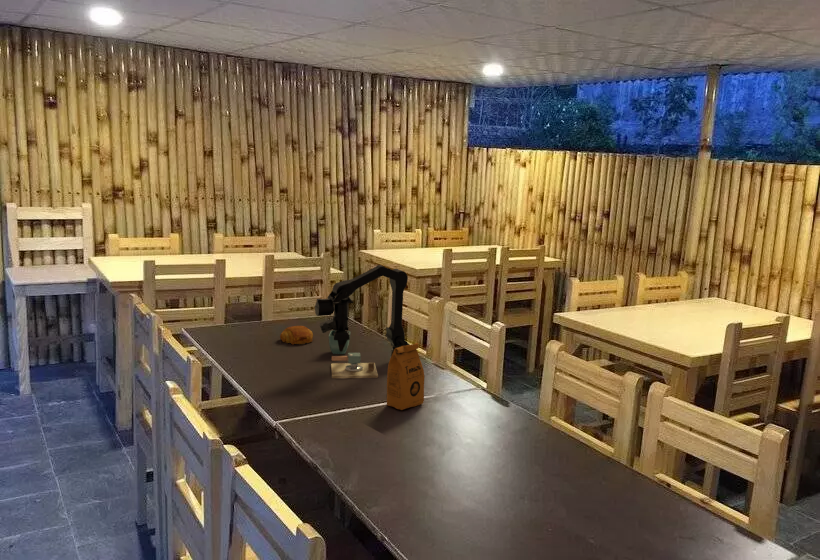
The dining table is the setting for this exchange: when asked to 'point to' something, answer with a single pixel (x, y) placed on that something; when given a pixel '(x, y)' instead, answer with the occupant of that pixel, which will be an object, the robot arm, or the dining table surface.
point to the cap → (348, 358)
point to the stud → (354, 367)
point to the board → (340, 372)
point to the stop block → (371, 366)
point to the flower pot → (336, 344)
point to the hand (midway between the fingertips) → (340, 351)
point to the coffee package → (405, 378)
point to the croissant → (296, 335)
